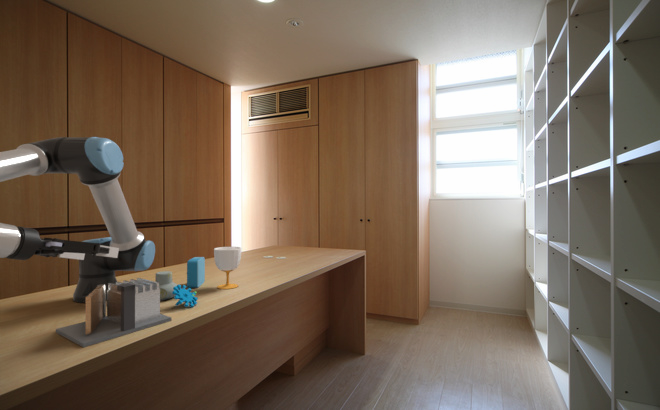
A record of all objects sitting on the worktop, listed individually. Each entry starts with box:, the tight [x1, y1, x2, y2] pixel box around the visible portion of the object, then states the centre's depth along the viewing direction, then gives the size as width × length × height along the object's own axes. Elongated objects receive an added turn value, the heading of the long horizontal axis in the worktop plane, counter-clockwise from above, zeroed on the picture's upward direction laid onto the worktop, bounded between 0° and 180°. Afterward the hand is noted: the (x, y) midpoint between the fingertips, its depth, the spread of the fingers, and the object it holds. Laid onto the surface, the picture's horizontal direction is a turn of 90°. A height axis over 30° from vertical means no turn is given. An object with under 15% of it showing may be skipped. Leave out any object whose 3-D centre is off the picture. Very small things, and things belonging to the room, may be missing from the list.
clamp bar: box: [85, 284, 107, 334], centre depth 99 cm, size 15×2×10 cm, turn 22°
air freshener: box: [154, 270, 179, 301], centre depth 132 cm, size 11×8×10 cm
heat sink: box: [106, 277, 161, 324], centre depth 106 cm, size 12×10×11 cm
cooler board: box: [55, 283, 172, 348], centre depth 102 cm, size 18×24×14 cm
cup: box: [213, 246, 242, 290], centre depth 151 cm, size 12×12×17 cm
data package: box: [186, 256, 206, 289], centre depth 153 cm, size 12×4×12 cm, turn 6°
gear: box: [172, 283, 199, 308], centre depth 123 cm, size 11×6×10 cm
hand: (100, 254), depth 97 cm, fingers open, 13 cm apart
